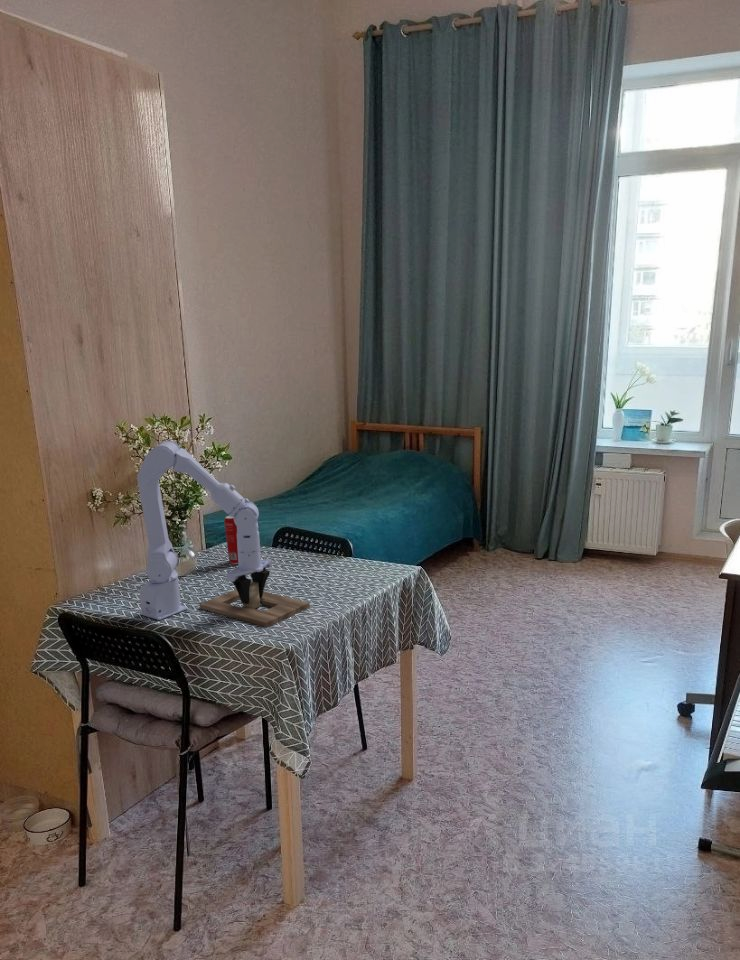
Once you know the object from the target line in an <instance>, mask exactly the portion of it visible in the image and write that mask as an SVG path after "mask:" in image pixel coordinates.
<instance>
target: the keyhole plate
mask: <svg viewBox="0 0 740 960" xmlns="http://www.w3.org/2000/svg"><path fill="white" fill-rule="evenodd" d="M238 600H241V599H240V596H239V594H238V591H237V589H236V588H235V589H234V590H231V591H230V592H229V591H228V592H226V593H224V594H221V595H219V596H216V597H214V598H211V599H208V600H206V601H204V602H201V603H199V610H200V609H201V610H203V611H204V610H205V611H207V610H208V612H212V613H214V612H215V614H218V615H221V614H222V616H226V617H229V618H232V619H236V620H240V621H242V622H243V621H244V622H247V623H250V624H253V625H257V626H260V627H264V628H269V627H271V626H274V625H275V624H278V623H279V622H281V621H283V620H285V619H288V618H290V617H292V616H294V615H296V614H298V613H300V612H302V611H304V610H307V609H309V608H310V602H308V601H303V600H301V599H296V598H292V597H289V596H284V595H280V594H275V593H271V592H268V591H263V596H262V598H260V603H261V605H263V606H266V607H270V608H268V609H265V610H260V609H257V608H254V609H253V608H250V607H245V608H243V607H240V606H236V605H233V604H232V603H234V602H237V601H238Z"/></svg>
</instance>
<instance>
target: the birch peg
mask: <svg viewBox="0 0 740 960" xmlns="http://www.w3.org/2000/svg"><path fill="white" fill-rule="evenodd" d="M242 606H243V607H242V608H245V607H250V608H253V609H257V608H259V607H261V602H260V597H259V586H258V582H253V581H251V583H250V588H249V603H248V604H244V603H242Z"/></svg>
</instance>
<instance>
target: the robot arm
mask: <svg viewBox="0 0 740 960" xmlns="http://www.w3.org/2000/svg"><path fill="white" fill-rule="evenodd" d="M171 468H173V470H172V472H173V473H175V472H176V473H185V474H187V475H188V476H189V477H191V478H192V479H193V480H195V481H196V482H197V483H198V484H199V485H201V487H203V488H205V489H206V490H207V491H208V492H209V493H210V495H211V496H210V498H211V501H212V502H213V503H215V505H217V506H218V507H219V508H220V509H221V510H222V511H224V512H225V513H226V514H228V516H232V517H234V523H235V524H236V526H237V548H238V564H237V565H238V566H237V567H235V568H234V569H232V570H231V571H229V572H226V581H228V582H232V585H234V587H235V590H236V589H237V591H238V594H239V596H240V599H239V600H240V602H241V604H243V603H244V604H248V603H249V588H250V583H251V582H258V586H259V597H260V598H262V596H263V591H264V590H265V586H266V582H267V580H268V579H269V576H270V574H271V573H270V570H269V569H267V568H272V567H273V559H270V558H265V559H261V558H262V557H261V544H260V543H261V541H260V531H259V523H258V521H259V520H258V519H259V516H260V513H259V508H258V507H257V505H256V504H255V503H254V502H253V501H250V500H249V499H248V498H247V497H246V498H245V497H243V496H242V495H241V494H240V493H239V492H238V491H237V490H235V489H236V486H234V485H233V484H229V483H228V482H219V481H218V480H217V479H216V478H215V477H214V476H213V475H212V474H211V473H210V472H209V471H208V470H207V469H205V467H203V466H202V465H201V464H200V463H199V461H197V460H196V459H195V458H194V457H193V456H192V455H191V454H190V453H189V452H188V451H187V450H186V449H184V448H183V447H180V445H179V444H178V443H177V442H175V441H173V440H164V441H162V442H160V443H159V444H158V445H156V446H154V447H153V448H151V449H150V451H149V452H147V453H146V455H145V456H144V460H143V462H142V464H141V466H140V468H139V470H138V473H137V475H136V479H137V480H136V481H137V486H138V491H139V497H140V503H141V507H142V514H143V519H144V524H145V526H144V527H145V530H146V535H147V536H146V538H147V541H148V550H147V564H146V565H147V566H146V571H145V572H146V575H147V576H148V580H147V582H146V583H144V584H143V585H141V586H140V589H139V596H140V608H141V609H140V610H141V611H140V612H139V614H140V615H142V616H145V617H148V618H151V619H154V620H158V621H161V620H163V619H165V618H169V617H170V616H171V617H172V616H174V615H176V614H178V613H181V612H183V611H185V610H188V609H189V607H188V606H186V605H182V604H181V596H180V584H179V583H180V582H179V573H177V570H176V568H177V566H178V565H179V556H178V554H177V553H176V551H175V550H174V548H173V544H172V542H171V539H169V534H168V533H169V531H168V527H167V522H166V516H165V510H164V505H163V504H164V503H163V498H162V492H161V487H160V481H159V480H160V479H161V477H162V476H163V475H164V474H165V473H166V472H167V471H168V470H170V469H171ZM248 575H250V577H251V578H247V576H248ZM264 592H265V591H264Z"/></svg>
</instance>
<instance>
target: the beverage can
mask: <svg viewBox="0 0 740 960" xmlns="http://www.w3.org/2000/svg"><path fill="white" fill-rule="evenodd" d="M223 521H224V523H223V524H224V531H225V538H226V539H225V540H226V546H227V553H228V555H227V556H228V562H229V563H230V564H232V565H239V564H238V548H237V526H236V524H235V523H234V517H232V516H229V515H226V516H224V520H223Z"/></svg>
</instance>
